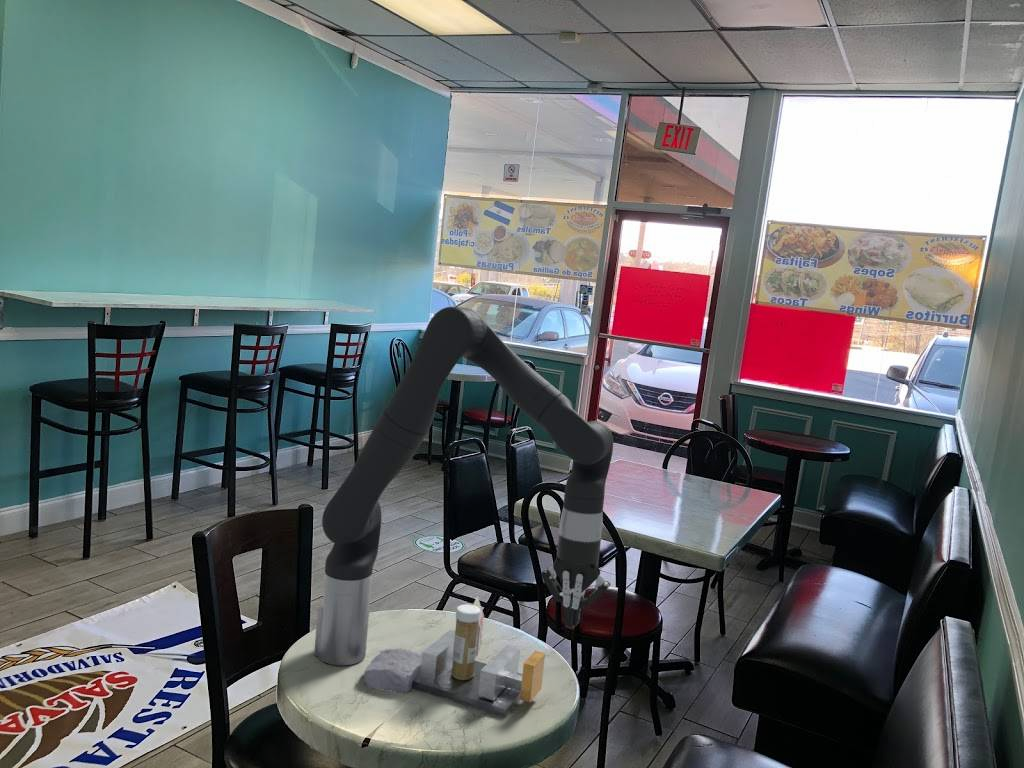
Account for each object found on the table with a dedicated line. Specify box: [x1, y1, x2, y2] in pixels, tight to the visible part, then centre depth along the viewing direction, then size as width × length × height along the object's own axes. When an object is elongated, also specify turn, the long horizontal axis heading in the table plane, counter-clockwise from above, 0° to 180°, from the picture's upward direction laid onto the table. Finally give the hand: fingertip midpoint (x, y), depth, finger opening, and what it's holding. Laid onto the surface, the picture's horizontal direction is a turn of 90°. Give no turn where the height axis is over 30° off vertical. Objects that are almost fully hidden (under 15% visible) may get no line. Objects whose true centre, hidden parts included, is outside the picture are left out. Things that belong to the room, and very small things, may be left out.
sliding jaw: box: [478, 645, 546, 703], centre depth 151 cm, size 9×12×7 cm
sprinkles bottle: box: [451, 603, 480, 680], centre depth 155 cm, size 5×5×14 cm
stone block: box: [363, 647, 422, 694], centre depth 156 cm, size 12×5×10 cm
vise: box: [411, 629, 523, 718], centre depth 154 cm, size 19×14×7 cm
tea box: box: [472, 596, 485, 656], centre depth 171 cm, size 4×7×10 cm, turn 175°
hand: (570, 626), depth 146 cm, fingers closed
